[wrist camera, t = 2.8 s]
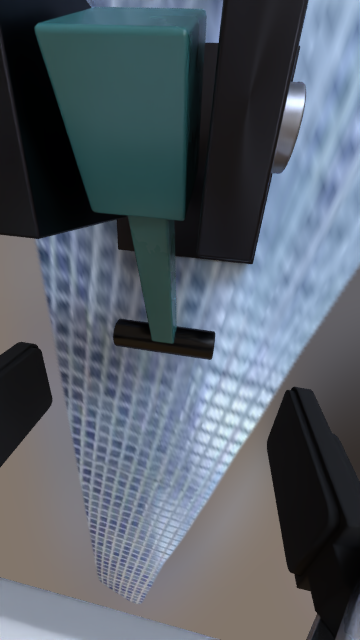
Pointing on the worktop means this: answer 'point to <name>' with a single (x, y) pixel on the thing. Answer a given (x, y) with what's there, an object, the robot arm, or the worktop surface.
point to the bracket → (215, 130)
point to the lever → (136, 140)
